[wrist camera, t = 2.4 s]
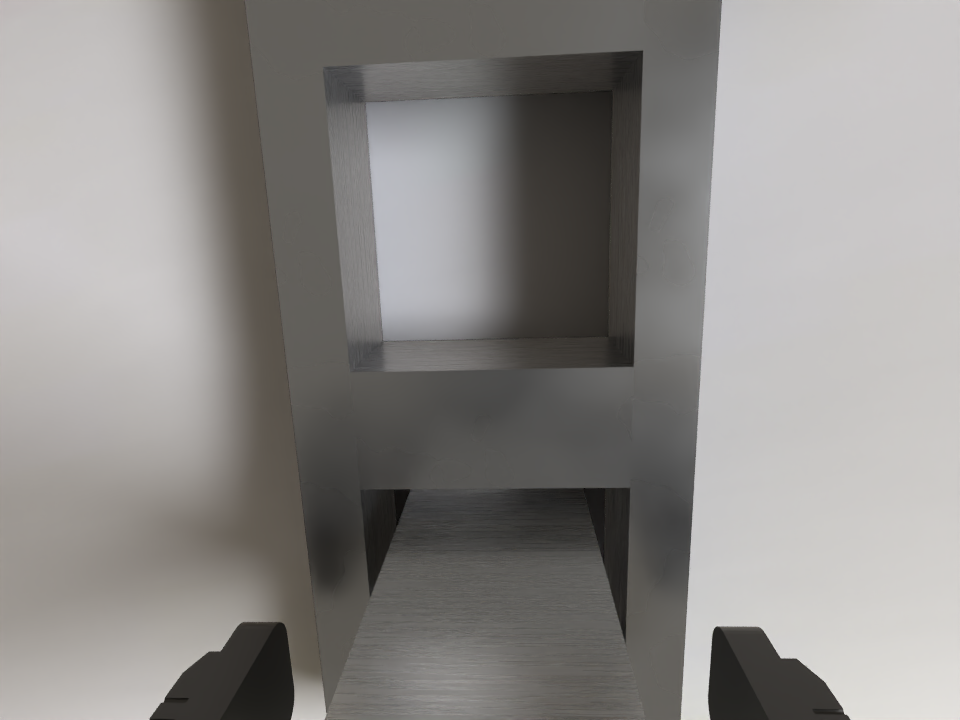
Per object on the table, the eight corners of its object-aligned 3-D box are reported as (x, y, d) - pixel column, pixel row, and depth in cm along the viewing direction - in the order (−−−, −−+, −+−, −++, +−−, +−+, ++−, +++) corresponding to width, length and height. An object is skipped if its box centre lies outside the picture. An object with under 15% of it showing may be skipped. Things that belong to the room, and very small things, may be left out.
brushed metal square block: (575, 461, 15) (671, 814, 6) (574, 598, 16) (656, 1077, 7) (420, 463, 15) (293, 804, 6) (428, 597, 16) (328, 1060, 7)
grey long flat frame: (695, -541, 10) (774, -867, 7) (646, 692, 16) (677, 801, 13) (254, -492, 11) (151, -779, 8) (365, 689, 17) (333, 793, 14)
